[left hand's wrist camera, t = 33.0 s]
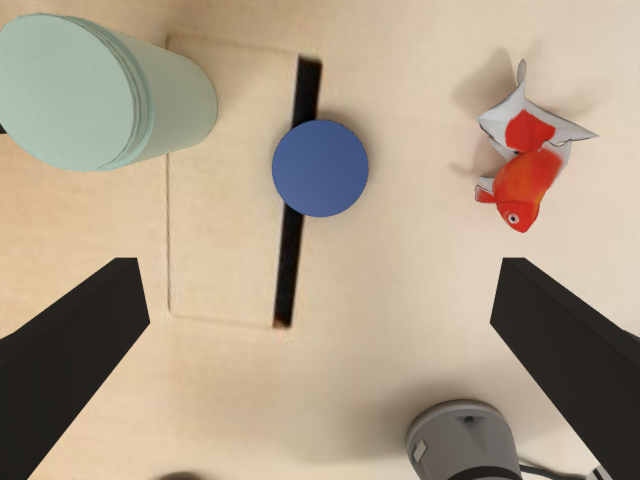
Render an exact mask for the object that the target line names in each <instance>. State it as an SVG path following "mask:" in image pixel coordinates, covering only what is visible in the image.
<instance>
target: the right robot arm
mask: <svg viewBox="0 0 640 480" xmlns="http://www.w3.org/2000/svg"><path fill="white" fill-rule="evenodd" d="M6 133H7V132H6V131H5V129H4V128H3V126H2V125H1V123H0V134H6Z"/></svg>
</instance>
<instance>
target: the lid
mask: <svg viewBox="0 0 640 480" xmlns="http://www.w3.org/2000/svg"><path fill="white" fill-rule="evenodd" d="M368 170H369V169H368V160H367V155H366V153H365V150H364V148H363V146H362V143H361V142H360V141H359V139H358V138H357V137H356V136H355V135H354V134H353V132H351V131H350V130H349V129H347V128H346V127H344V126H343V125H342V124H338V123H336V122H333V121H330V120H316V119H315V120H311V121H307V122H304V123H303V122H302V124H300V125H298V126H296V127H295V128H293V129H291V130H290V132H288V133H287V134H286V135H285V136H284V137H283V138H282V139H281V141H280V143H279V145H278V147H277V148H276V151H275V154H274V157H273V163H272V175H273V180H274V184H275V187H276V189H277V191H278V193H279V194H280V196H281V197H282V199H283V200H284V201H285V202H286V203H287V204H288V205H289V206H290V207H291V208H293V209H294V210H296V211H298V212H300V213H302V214H304V215H308V216H313V217H328V216H332V215H336V214H338V213H341V212H343V211H344V210H346V209H347V208H349V207H350V206H351V205H353V204H354V203H355V202H356V200H357V199H358V198H359V197H360V195H361V194H362V192H363V190H364V188H365V185H366V182H367V177H368Z"/></svg>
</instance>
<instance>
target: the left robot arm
mask: <svg viewBox="0 0 640 480" xmlns="http://www.w3.org/2000/svg"><path fill="white" fill-rule="evenodd" d="M149 324H150V319H149V314H148V309H147V304H146V299H145V295H144V290H143V285H142V280H141V275H140V270H139V265H138V260H137V258H114V259H113V260H112V261H110V262H109V263H108V264H106V265H105V266H104V267H102V268H101V269H99V270H98V271H97V272H95V273H94V274H93V275H91V276H90V277H89V278H87V279H86V280H85V281H83V282H82V283H80V284H79V285H78V286H76V287H75V288H74V289H72V290H71V291H70V292H68V293H67V294H65V295H64V296H63V297H61V298H60V299H59V300H57V301H56V302H55V303H53V304H52V305H51V306H49V307H48V308H46V309H45V310H44V311H42V312H41V313H40V314H38V315H37V316H36V317H34V318H33V319H31V320H30V321H29V322H27V323H26V324H25V325H23V326H22V327H21V328H19V329H18V330H17V331H15V332H14V333H12V334H10V335H8V336H6V337H4V338H2V339H0V480H27V479H28V478H29V476H30V475H31V474H32V473H33V471H34V470H35V469H36V468H37V466H38V465H39V464H40V462H41V461H42V460H43V459H44V457H45V456H46V455H47V454H48V452H49V451H50V450H51V449H52V447H53V446H54V445H55V443H56V442H57V441H58V440H59V438H60V437H61V436H62V435H63V433H64V432H65V431H66V429H67V428H68V427H69V426H70V424H71V423H72V422H73V421H74V419H75V418H76V417H77V415H78V414H79V413H80V412H81V410H82V409H83V408H84V407H85V405H86V404H87V403H88V402H89V400H90V399H91V398H92V396H93V395H94V394H95V393H96V391H97V390H98V389H99V388H100V386H101V385H102V384H103V382H104V381H105V380H106V379H107V377H108V376H109V375H110V374H111V372H112V371H113V370H114V368H115V367H116V366H117V365H118V363H119V362H120V361H121V360H122V358H123V357H124V356H125V355H126V353H127V352H128V351H129V349H130V348H131V347H132V346H133V344H134V343H135V342H136V341H137V339H138V338H139V337H140V335H141V334H142V333H143V332H144V330H145V329H146V328H147V327H148V325H149ZM490 324H491V325H492V327H493V328H494V329H495V330H496V332H497V333H498V334H499V335H500V337H501V338H502V339H503V341H504V342H505V343H506V344H507V346H508V347H509V348H510V349H511V351H512V352H513V353H514V355H515V356H516V357H517V358H518V360H519V361H520V362H521V363H522V365H523V366H524V367H525V368H526V370H527V371H528V372H529V374H530V375H531V376H532V377H533V379H534V380H535V381H536V382H537V384H538V385H539V386H540V388H541V389H542V390H543V391H544V393H545V394H546V395H547V396H548V398H549V399H550V400H551V402H552V403H553V404H554V405H555V407H556V408H557V409H558V410H559V412H560V413H561V414H562V415H563V417H564V418H565V419H566V421H567V422H568V423H569V424H570V426H571V427H572V428H573V429H574V431H575V432H576V433H577V435H578V436H579V437H580V438H581V440H582V441H583V442H584V443H585V445H586V446H587V447H588V449H589V450H590V451H591V452H592V454H593V455H594V456H595V457H596V459H597V460H598V461H599V462H600V464H601V465H602V466H603V468H604V469H605V470H606V471H607V473H608V474H609V475H610V476H611V478H612V479H613V480H640V338H639V337H637V336H635V335H633V334H631V333H629V332H627V331H625V330H622V329H621V328H619V327H618V326H617V325H615V324H614V323H613V322H611V321H610V320H609V319H607V318H606V317H604V316H603V315H602V314H600V313H599V312H598V311H596V310H595V309H594V308H592V307H591V306H589V305H588V304H587V303H585V302H584V301H583V300H581V299H580V298H579V297H577V296H576V295H575V294H573V293H572V292H570V291H569V290H568V289H566V288H565V287H564V286H562V285H561V284H560V283H558V282H557V281H555V280H554V279H553V278H551V277H550V276H549V275H547V274H546V273H545V272H543V271H542V270H541V269H539V268H538V267H536V266H535V265H534V264H532V263H531V262H530V261H528V260H527V259H526V258H503V260H502V265H501V270H500V275H499V280H498V285H497V290H496V295H495V299H494V304H493V309H492V314H491V319H490ZM406 448H407V452H408V456H409V460H410V462H411V464H412V466H413V468H414V470H415V471H416V473H417V475H418V476H419V478H420V479H421V480H523V479H522V476H521V472H520V471H522V472H527V473H532V474H536V475H541V476H544V477H547V478H550V479H552V480H585V479H582V478H576V477H562V476H558V475H556V474H553V473H551V472H548V471H546V470H542V469H539V468H534V467H529V466H525V465H521V464H519V462H518V457H517V453H516V448H515V443H514V438H513V435H512V432H511V430H510V428H509V426H508V424H507V423H506V421H505V419H504V418H503V416H502V415H501V414H500V413H499V412H498V411H497V410H496V409H494V408H493V407H491V406H489V405H487V404H484V403H481V402H477V401H471V400H457V401H450V402H446V403H442V404H439V405H437V406H434V407H432V408H430V409H428V410H427V411H425V412H424V413H422V414H421V415H420V416H419V417H418V418H417V419H416V420H415V421H414V422H413V423H412V425H411V426H410V428H409V430H408V433H407V436H406ZM592 472H593V473H594V475H595V477H596V478H597V480H604V479H603V478H602V476H601V475H600V473H599V471H598V470H597V468H595V469H594V470H592Z"/></svg>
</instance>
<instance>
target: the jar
mask: <svg viewBox="0 0 640 480" xmlns="http://www.w3.org/2000/svg"><path fill="white" fill-rule="evenodd" d="M3 26H4V28H3V29H2V30H1V31H0V123H1V125H2V126H3V128H4V129H5V131H6V132H7V133H8V134H9V136H10V137H11V138H12V139H13V140H14V141H15V142H16V143H17V144H18V145H19V146H20V147H21V148H23V149H24V150H25V151H26V152H28V153H29V154H30V155H32V156H33V157H35V158H37V159H38V160H40V161H42V162H44V163H46V164H49V165H51V166H54V167H57V168H61V169H65V170H71V171H80V172H88V171H98V172H100V171H109V170H114V169H118V168H121V167H124V166H128V165H131V164H134V163H137V162H141V161H144V160H147V159H151V158H154V157H157V156H161V155H164V154H167V153H171V152H174V151H177V150H181V149H184V148H187V147H190V146H193V145H196V144H197V143H199V142H201V141H202V140H203V139H205V138H206V137H207V136H208V134H209V133H210V132H211V130H212V128H213V126H214V124H215V121H216V117H217V109H218V106H217V97H216V93H215V90H214V87H213V85H212V83H211V81H210V79H209V77H208V76H207V75H206V73H205V72H204V71H203V70H202V69H201V68H200V67H199V66H198V65H197V64H196V63H195V62H193V61H192V60H190V59H188V58H186V57H184V56H182V55H179V54H177V53H174V52H171V51H169V50H166V49H163V48H161V47H158V46H155V45H153V44H150V43H147V42H145V41H142V40H139V39H137V38H134V37H131V36H129V35H126V34H123V33H121V32H118V31H116V30H113V29H110V28H108V27H105V26H102V25H100V24H97V23H94V22H91V21H89V20H86V19H83V18H78V17H73V16H62V15H55V14H48V13H41V12H39V13H34V14H28V15H23V16H18V17H17V18H15V19H13V20H12V21H10V22H8V23H7V24H5V25H3Z"/></svg>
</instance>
